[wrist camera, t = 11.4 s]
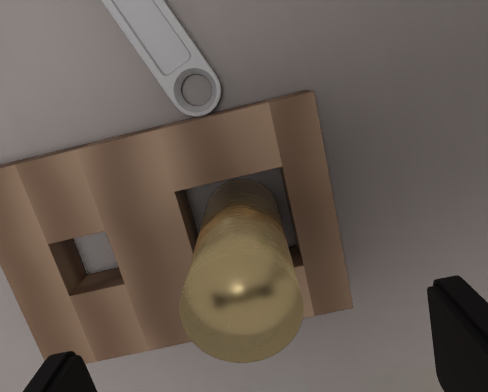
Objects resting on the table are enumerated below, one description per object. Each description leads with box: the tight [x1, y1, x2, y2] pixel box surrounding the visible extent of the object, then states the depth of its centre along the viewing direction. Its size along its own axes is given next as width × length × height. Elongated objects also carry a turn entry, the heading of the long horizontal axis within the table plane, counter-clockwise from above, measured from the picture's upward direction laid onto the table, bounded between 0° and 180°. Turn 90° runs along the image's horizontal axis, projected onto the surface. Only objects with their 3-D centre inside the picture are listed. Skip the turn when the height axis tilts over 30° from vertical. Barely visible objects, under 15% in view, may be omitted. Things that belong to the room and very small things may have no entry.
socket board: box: [0, 90, 353, 364], centre depth 22 cm, size 18×12×2 cm, turn 103°
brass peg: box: [179, 179, 304, 363], centre depth 18 cm, size 4×4×10 cm
